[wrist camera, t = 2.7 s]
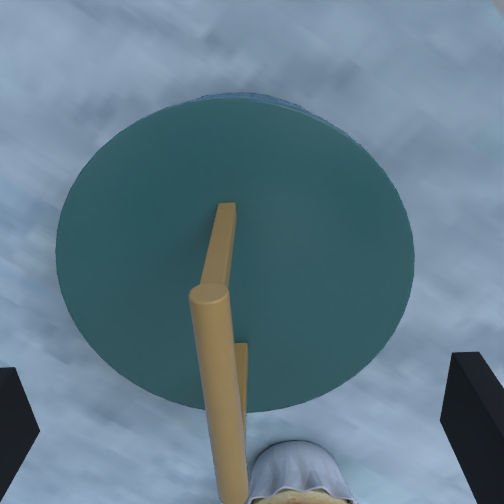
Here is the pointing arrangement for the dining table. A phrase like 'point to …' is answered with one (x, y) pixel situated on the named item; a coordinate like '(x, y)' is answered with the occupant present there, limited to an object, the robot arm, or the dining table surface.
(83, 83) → the dining table surface
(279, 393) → the tin lid
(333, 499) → the cupcake
